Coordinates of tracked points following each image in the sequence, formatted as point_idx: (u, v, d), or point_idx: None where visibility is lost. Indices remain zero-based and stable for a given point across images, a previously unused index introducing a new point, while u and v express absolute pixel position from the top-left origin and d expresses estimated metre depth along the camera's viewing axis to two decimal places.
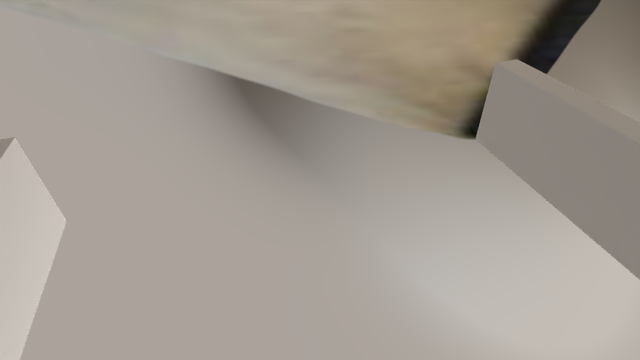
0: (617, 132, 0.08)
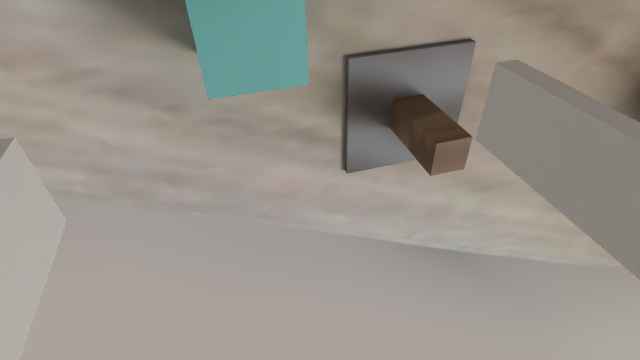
0: (617, 132, 0.08)
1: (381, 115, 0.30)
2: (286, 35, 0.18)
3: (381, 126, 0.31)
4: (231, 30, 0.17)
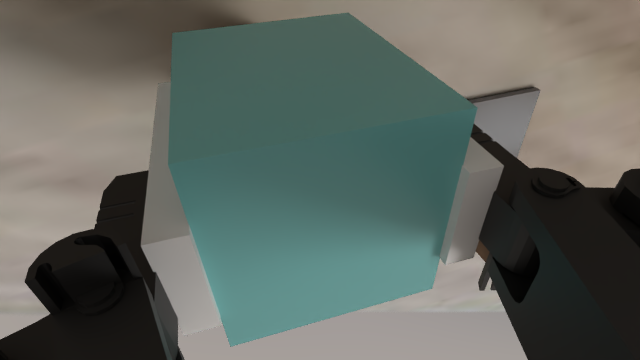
0: None
1: None
2: (409, 225, 0.08)
3: None
4: (291, 235, 0.07)
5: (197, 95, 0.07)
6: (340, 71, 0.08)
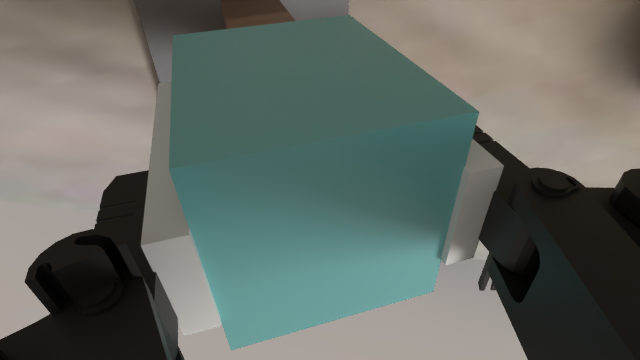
0: None
1: (206, 29, 0.18)
2: (410, 228, 0.08)
3: None
4: (292, 239, 0.07)
5: (198, 99, 0.07)
6: (341, 75, 0.08)
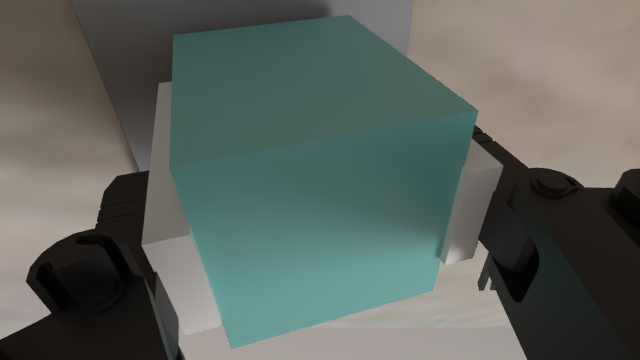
0: None
1: None
2: (410, 227, 0.08)
3: None
4: (292, 238, 0.07)
5: (198, 98, 0.07)
6: (341, 74, 0.08)
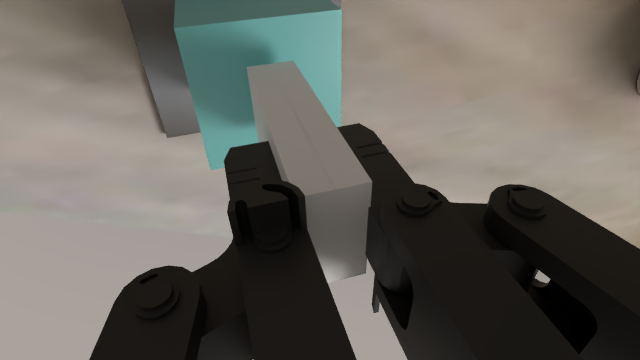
0: (302, 129, 0.09)
1: None
2: (315, 88, 0.14)
3: None
4: (242, 85, 0.13)
5: (190, 7, 0.13)
6: None
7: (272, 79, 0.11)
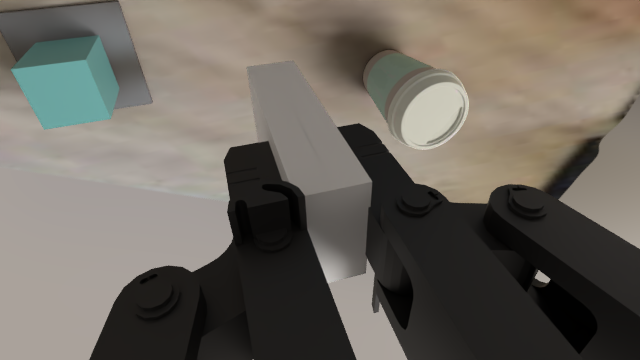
0: (302, 129, 0.09)
1: None
2: (85, 92, 0.31)
3: None
4: (48, 91, 0.30)
5: (27, 58, 0.30)
6: (68, 52, 0.31)
7: (272, 79, 0.11)
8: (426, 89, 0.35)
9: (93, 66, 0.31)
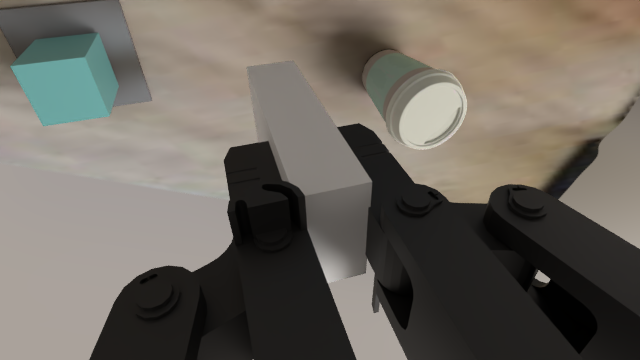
0: (302, 129, 0.09)
1: None
2: (84, 89, 0.31)
3: None
4: (47, 88, 0.30)
5: (26, 55, 0.30)
6: (67, 50, 0.31)
7: (272, 79, 0.11)
8: (424, 89, 0.35)
9: (92, 63, 0.31)
